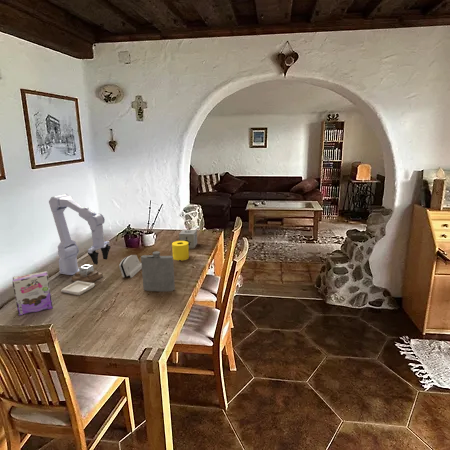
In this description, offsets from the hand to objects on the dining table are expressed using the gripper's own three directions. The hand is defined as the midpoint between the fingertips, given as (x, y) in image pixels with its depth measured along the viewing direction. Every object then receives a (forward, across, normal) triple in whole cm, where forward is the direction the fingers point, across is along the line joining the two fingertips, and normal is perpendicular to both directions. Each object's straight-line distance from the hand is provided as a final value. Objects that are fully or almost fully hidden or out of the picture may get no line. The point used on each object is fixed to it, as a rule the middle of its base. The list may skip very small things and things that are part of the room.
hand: (100, 261), depth 188 cm
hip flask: (+10, -2, -36) cm, 37 cm away
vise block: (+10, -2, +8) cm, 13 cm away
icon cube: (+10, +64, -20) cm, 68 cm away
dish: (+10, -14, +3) cm, 18 cm away
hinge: (+10, +13, -9) cm, 19 cm away
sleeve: (+8, -2, +8) cm, 11 cm away
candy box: (+10, -38, +6) cm, 39 cm away
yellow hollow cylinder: (+10, +42, -25) cm, 50 cm away
